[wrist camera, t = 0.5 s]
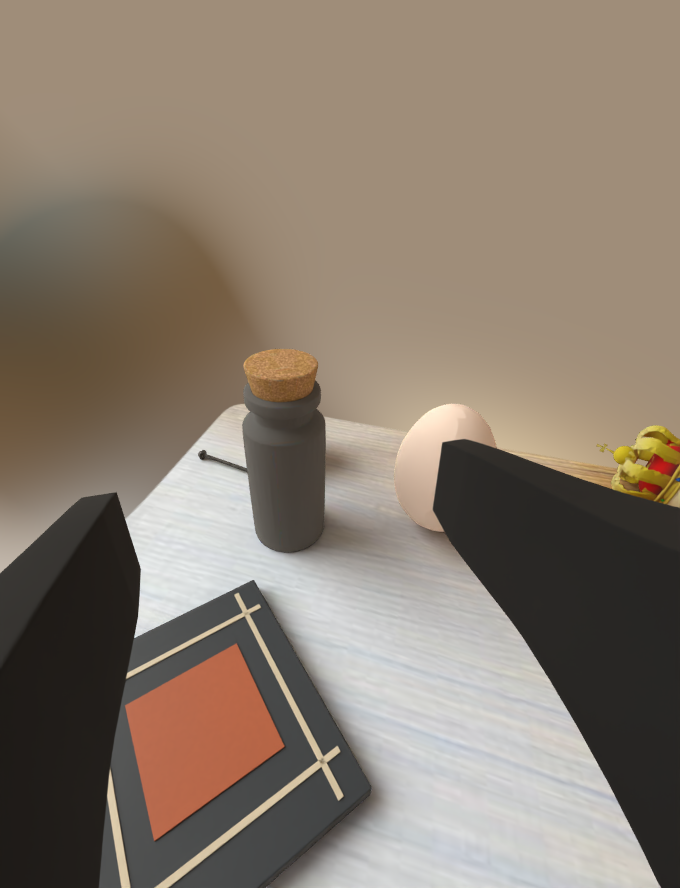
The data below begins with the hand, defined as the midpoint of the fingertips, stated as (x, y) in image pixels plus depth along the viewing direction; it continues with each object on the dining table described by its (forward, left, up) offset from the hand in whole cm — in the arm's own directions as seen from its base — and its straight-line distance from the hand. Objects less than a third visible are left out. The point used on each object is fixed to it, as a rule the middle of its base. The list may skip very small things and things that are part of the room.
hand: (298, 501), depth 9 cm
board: (+5, +4, -19) cm, 20 cm away
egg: (+10, -18, -20) cm, 29 cm away
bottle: (+16, -7, -20) cm, 26 cm away
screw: (+26, -7, -19) cm, 33 cm away
